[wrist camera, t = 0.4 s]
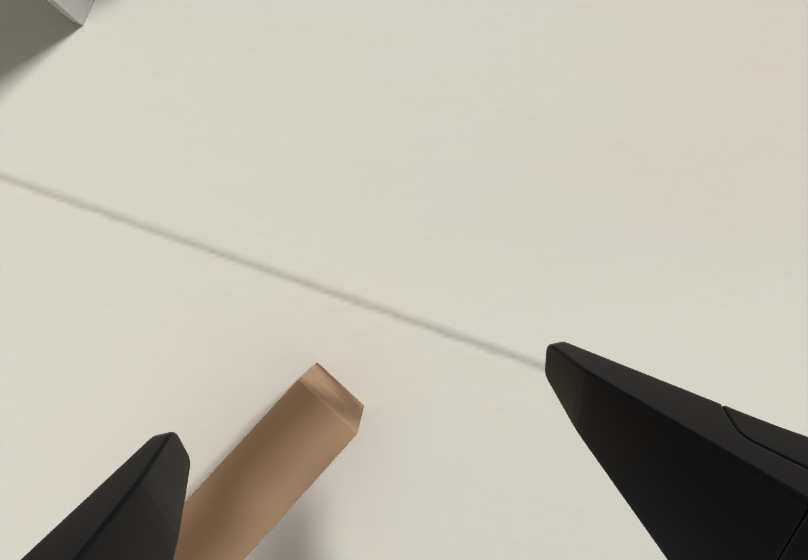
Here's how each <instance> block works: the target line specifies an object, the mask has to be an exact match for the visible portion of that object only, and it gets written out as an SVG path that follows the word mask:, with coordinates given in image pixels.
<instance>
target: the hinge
mask: <svg viewBox="0 0 808 560" xmlns="http://www.w3.org/2000/svg"><path fill="white" fill-rule="evenodd" d="M47 1H48V2H49V3H50V4H51V5H53V6H54V7H55V8H56V9H57V10H58V11H60V12H61V13H62V14H63V15H64V16H66V17H67V18H68V19H69V20H70V21H71V22H74V23H76V24H79V25H81V26H83V25H84V23H85V20H86V18H87V16H88V14H89V12H90V9H91V7H92V5H93V3H94V1H95V0H47Z"/></svg>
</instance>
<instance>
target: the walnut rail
mask: <svg viewBox="0 0 808 560" xmlns="http://www.w3.org/2000/svg"><path fill="white" fill-rule="evenodd" d="M363 408H364V405H363V404H362V403H361V402H360V401H359V400H358V399H356V398H355V397H354V396H353V395H352V394H351V393H350V392H349V391H348V390H347V389H346V388H344V387H343V386H342V385H341V384H340V383H339V382H338V381H337V380H336V379H335V378H334V377H333V376H331V375H330V374H329V373H328V372H327V371H326V370H325V369H324V368H323V367H322V366H321V365H319V364H318V363H316V364H315V365H314V366H313V367H312V368H310V369H309V370H308V371H307V372H306V373H305V374H304V375H303V376H302V377H301V378H300V379H299V380H298V381H297V382H296V383H295V384H294V385H293V386H292V387H291V388H290V389H289V390H288V391H287V392H286V394H285V395H284V396H283V397H282V398H281V399H280V400H279V401H278V402H277V403H276V404H275V405H274V407H273V408H272V409H271V410H270V411H269V412H268V413H267V414H266V415H265V416H264V417H263V419H262V420H261V421H260V422H259V423H258V424H257V425H256V426H255V427H254V428H253V429H252V430H251V432H250V433H249V434H248V435H247V436H246V437H245V438H244V439H243V440H242V441H241V442H240V443H239V445H238V446H237V447H236V448H235V449H234V450H233V451H232V452H231V453H230V454H229V455H228V456H227V458H226V459H225V460H224V461H223V462H222V463H221V464H220V465H219V466H218V467H217V468H216V470H215V471H214V472H213V473H212V474H211V475H210V476H209V477H208V478H207V479H206V480H205V481H204V483H203V484H202V485H201V486H200V487H199V488H198V489H197V490H196V491H195V492H194V493H193V494H192V496H191V497H190V498H189V499H188V500H187V501H186V502H185V503H184V508H183V515H182V521H181V527H180V533H179V538H178V543H177V547H176V551H175V555H174V559H173V560H244V559H245V558H246V556H247V555H248V554H249V553H250V552H251V551H252V550H253V549H254V548H255V546H256V545H257V544H258V543H259V542H260V541H261V540H262V539H263V538H264V536H265V535H266V534H267V533H268V532H269V531H270V530H271V529H272V528H273V526H274V525H275V524H276V523H277V522H278V521H279V520H280V519H281V518H282V517H283V515H284V514H285V513H286V512H287V511H288V510H289V509H290V508H291V507H292V505H293V504H294V503H295V502H296V501H297V500H298V499H299V498H300V497H301V495H302V494H303V493H304V492H305V491H306V490H307V489H308V488H309V487H310V486H311V484H312V483H313V482H314V481H315V480H316V479H317V478H318V477H319V476H320V474H321V473H322V472H323V471H324V470H325V469H326V468H327V467H328V466H329V464H330V463H331V462H332V461H333V460H334V459H335V458H336V457H337V456H338V455H339V453H340V452H341V451H342V450H343V449H344V448H345V447H346V446H347V445H348V443H349V442H350V441H351V440H352V439H353V438H354V437H355V436H356V435H357V432H358V428H359V424H360V420H361V416H362V412H363Z"/></svg>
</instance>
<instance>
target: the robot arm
mask: <svg viewBox="0 0 808 560" xmlns="http://www.w3.org/2000/svg"><path fill="white" fill-rule="evenodd" d="M545 373H546V377H547V379H548V381H549V383H550V385H551V386H552V388H553V390H554V392H555V394H556V395H557V397H558V399H559V401H560V402H561V404H562V406H563V408H564V410H565V411H566V413H567V415H568V417H569V418H570V420H571V422H572V424H573V425H574V427H575V429H576V430H577V432H578V433H579V435H580V436H581V438H582V439H583V441H584V442H585V444H586V445H587V446H588V448H589V449H590V451H591V452H592V453H593V455H594V456H595V458H596V459H597V461H598V462H599V463H600V465H601V466H602V468H603V469H604V470H605V472H606V473H607V475H608V476H609V477H610V479H611V480H612V482H613V483H614V485H615V486H616V487H617V489H618V490H619V492H620V493H621V494H622V496H623V497H624V499H625V500H626V502H627V503H628V504H629V506H630V507H631V509H632V510H633V511H634V513H635V514H636V516H637V517H638V518H639V520H640V521H641V523H642V524H643V526H644V527H645V528H646V530H647V531H648V533H649V534H650V535H651V537H652V538H653V540H654V541H655V543H656V544H657V545H658V547H659V548H660V550H661V551H662V552H663V554H664V555H665V557H666V558H667V560H808V437H807V436H804V435H801V434H798V433H795V432H792V431H790V430H787V429H784V428H781V427H778V426H776V425H773V424H770V423H768V422H765V421H763V420H760V419H757V418H755V417H752V416H750V415H747V414H744V413H742V412H739V411H737V410H734V409H732V408H729V407H727V406H722V405H721V404H719V403H717V402H714V401H712V400H709V399H707V398H704V397H702V396H699V395H697V394H694V393H692V392H689V391H687V390H684V389H682V388H679V387H677V386H674V385H672V384H669V383H667V382H664V381H662V380H659V379H656V378H654V377H651V376H649V375H646V374H644V373H641V372H639V371H636V370H634V369H631V368H629V367H626V366H624V365H621V364H619V363H616V362H614V361H611V360H609V359H606V358H604V357H601V356H599V355H596V354H594V353H591V352H589V351H586V350H584V349H581V348H579V347H576V346H574V345H571V344H569V343H566V342H558V343H554V344H550V345H549V346H548V347H547V350H546V363H545ZM189 470H190V459H189V456H188V454H187V452H186V450H185V448H184V446H183V444H182V442H181V441H180V439H179V437H178V435H177V434H176V433H174V432H168V433H164V434H160V435H156V436H154V437H152V438H151V439H150V440H148V441H147V442H146V443H145V444H144V445H143V446H142V447H141V448H140V449H139V450H138V451H137V452H136V453H135V454H133V455H132V456H131V457H130V458H129V459H128V460H127V461H126V462H125V463H124V464H123V465H122V466H121V467H120V468H118V469H117V470H116V471H115V472H114V473H113V474H112V475H111V476H110V477H109V478H108V479H107V480H106V481H105V482H104V483H102V484H101V485H100V486H99V487H98V488H97V489H96V490H95V491H94V492H93V493H92V494H91V495H90V496H89V497H87V498H86V499H85V500H84V501H83V502H82V503H81V504H80V505H79V506H78V507H77V508H76V509H75V510H74V511H72V512H71V513H70V514H69V515H68V516H67V517H66V518H65V519H64V520H63V521H62V522H61V523H60V524H59V525H57V526H56V527H55V528H54V529H53V530H52V531H51V532H50V533H49V534H48V535H47V536H46V537H45V538H44V539H42V540H41V541H40V542H39V543H38V544H37V545H36V546H35V547H34V548H33V549H32V550H31V551H30V552H29V553H27V554H26V555H25V556H24V557H23V558H22V559H21V560H173V559H174V555H175V551H176V547H177V543H178V538H179V533H180V527H181V521H182V515H183V508H184V502H185V495H186V489H187V482H188V476H189Z"/></svg>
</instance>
